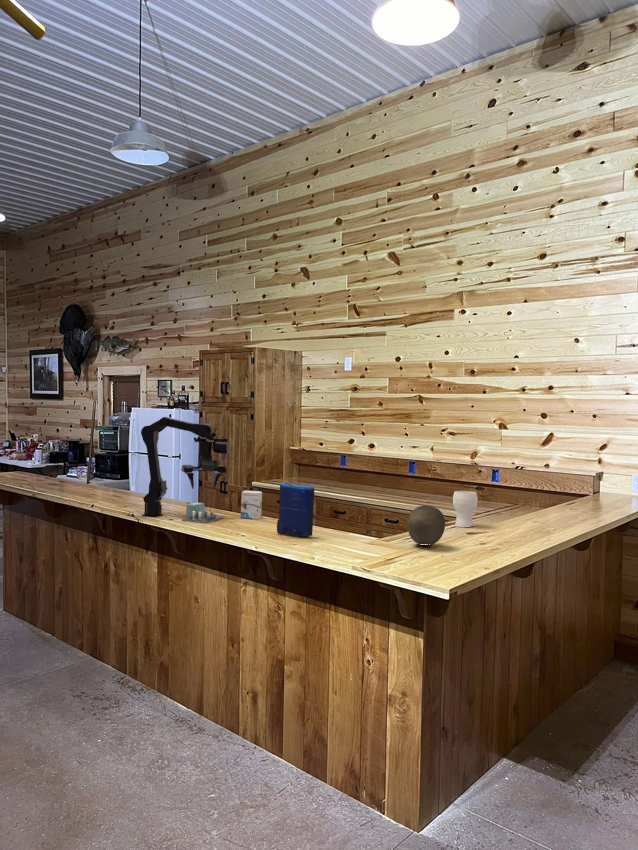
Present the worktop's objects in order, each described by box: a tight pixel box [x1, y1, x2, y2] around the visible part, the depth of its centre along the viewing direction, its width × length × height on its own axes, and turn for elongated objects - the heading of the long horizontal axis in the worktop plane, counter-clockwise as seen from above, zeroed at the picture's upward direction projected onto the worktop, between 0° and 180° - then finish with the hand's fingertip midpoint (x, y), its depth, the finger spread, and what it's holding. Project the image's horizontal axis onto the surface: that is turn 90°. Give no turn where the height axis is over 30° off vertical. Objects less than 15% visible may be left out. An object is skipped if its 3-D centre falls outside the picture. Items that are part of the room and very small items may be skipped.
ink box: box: [240, 490, 263, 520], centre depth 284 cm, size 9×5×12 cm, turn 84°
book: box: [276, 482, 315, 538], centre depth 248 cm, size 14×5×20 cm, turn 62°
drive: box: [185, 502, 205, 517], centre depth 287 cm, size 4×8×5 cm, turn 162°
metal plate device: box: [181, 507, 224, 524], centre depth 276 cm, size 12×14×4 cm
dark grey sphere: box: [407, 504, 446, 546], centre depth 236 cm, size 14×14×15 cm
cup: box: [452, 490, 479, 528], centre depth 282 cm, size 11×11×15 cm
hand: (203, 488), depth 279 cm, fingers open, 9 cm apart
